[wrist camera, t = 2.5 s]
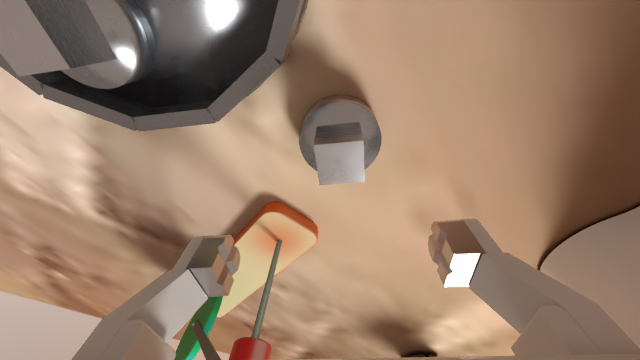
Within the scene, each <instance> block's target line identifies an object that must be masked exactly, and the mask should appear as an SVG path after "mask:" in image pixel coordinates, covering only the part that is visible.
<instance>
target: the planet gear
mask: <svg viewBox="0 0 640 360" xmlns="http://www.w3.org/2000/svg"><path fill="white" fill-rule="evenodd" d="M299 143H300V149H301V152H302V155H303V157H304V158H305V160H306V161H307V163H308V164H309V165H310V166H311V167H312V168H314V169H315V170H316V171H318V177H319V183H320V185H329V184H343V183H357V182H365V174H364V169H366V168H367V167H368V166H369V165H370V164H371V163H372V162H373V161H374V160H375V158H376V157H377V155H378V152H379V150H380V146H381V132H380V128H379V126H378V123H377V120H376V118H375V115H374V113H373V111H372V110H371V109H370V107H369V106H368V105H367V104H366V103H364V102H363V101H362V100H360V99H358V98H356V97H353V96H349V95H332V96H329V97H326V98H324V99H322V100H320V101H318V102H317V103H316V104H315V105H313V106H312V108H311V109H310V110H309V111H308V113H307V115H306V117H305V119H304V122H303V125H302V129H301V132H300V137H299Z"/></svg>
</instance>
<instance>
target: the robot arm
mask: <svg viewBox="0 0 640 360" xmlns="http://www.w3.org/2000/svg"><path fill="white" fill-rule="evenodd" d="M431 230H432V232H433V234H432V235H431V236H430V237H429V241H428V246H429V252H430V255H431V258H432V260H433V261H434V262H435V263H436V264H438V265H439V266H438V270H437V271H438V274H439V276H440V278H441V280H442V283H443V285H444V287H462V286H469V288H470V289H471V290H472V291H473V292H474V293H475V294H476V295H478V296H479V297H480V298H481V299H482V300H483V301H484V302H485V303H487V304H488V305H489V306H490V307H491V308H492V309H493V310H494V311H496V312H497V313H498V314H499V315H500V316H501V317H502V318H503V319H505V320H506V321H507V322H508V323H509V324H510V325H511V326H512V327H514V328H515V329H516V330H517V331H518V332H519V333H520V335H519V336H518V338H517V339H516V340H515V342H514V343H513V345H512V347H511V348H512V350H513V352H514V354H515V356H468V357H408V358H348V359H288V360H640V206H639V207H637V208H635V209H633V210H631V211H628V212H626V213H623V214H621V215H618V216H615V217H612V218H610V219H607V220H604V221H602V222H599V223H597V224H595V225H592V226H590V227H588V228H586V229H584V230H582V231H580V232H578V233H577V234H575V235H573V236H572V237H570V238H568V239H567V240H566V241H564V242H563V243H561V244H560V245H559V246H558V247H556V248H555V249H554V250H553V251H552V252H551V253H550V254H549V255H548V256H547V258H546V259H545V260H544V262H543V264H542V266H541V268H540V271H539V270H537V269H535V268H534V267H532V266H530V265H528V264H527V263H525V262H523V261H521V260H520V259H518V258H516V257H514V256H513V255H511V254H509V253H503V252H502V251H501V249H500V248H499V247H498V246H497V244H496V243H495V242H494V240H493V239H492V238H491V237H490V235H489V234H488V233H487V231H486V230H485V229H484V227H483V226H482V225H481V224H480V222H479V221H478V220H476V219H463V220H449V221H436V222H433V223H432V226H431ZM233 243H234V239H233V237H232V236H231V235H216V236H196V237H194V238H192V239H191V241H190V242H189V244H188V245H187V247H186V248H185V250H184V252H183V253H182V255H181V256H180V258H179V260H178V261H177V263H176V264H175V266H174V267H173V269H172V270H168V271H167V272H165V273H164V274H163V275H161V276H160V277H159V278H157V279H156V280H155V281H153V282H152V283H151V284H149V285H148V286H146V287H145V288H144V289H142V290H141V291H140V292H138V293H137V294H136V295H134V296H133V297H132V298H130V299H129V300H128V301H126V302H125V303H124V304H122V305H121V306H120V307H118V308H117V309H115V310H114V311H113V312H111V313H110V314H109V315H107V316H106V317H105V318H103V319H102V321H101V322H100V323H99V324H98V326H97V327H96V328H95V329H94V331H93V332H92V333H91V335H90V336H89V337H88V339H87V340H86V341H85V343H84V344H83V345H82V347H81V348H80V349H79V351H78V352H77V353H76V354H75V356H74V357H73V358H72V360H174V359H175V356H176V352H175V350H174V349H173V348H172V347H171V346H169V345H168V344H167V343H168V342H169V341H170V340H171V339H172V338H173V337H174V336H175V335H176V333H177V332H178V331H179V330H180V329H181V328H182V327H183V326H184V325H185V323H186V322H187V321H188V320H189V319H190V318H191V317H192V316H193V315H194V313H195V312H196V311H197V310H198V309H199V308H200V307H201V306H202V305H203V304H204V302H205V301H206V300H207V299H208V297H217V296H229V293H230V290H231V287H232V285H233V282H234V279H233V276H232V275H233V274H234V273H236V272H237V271H238V268H239V265H240V252H239V250H238V248H237V247H235V246H234V245H233Z"/></svg>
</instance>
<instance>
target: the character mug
mask: <svg viewBox="0 0 640 360" xmlns="http://www.w3.org/2000/svg"><path fill="white" fill-rule="evenodd" d="M409 357H424V354H418V355H412V356H409ZM429 357H436V356H433V355H429ZM407 358H408V357H407Z"/></svg>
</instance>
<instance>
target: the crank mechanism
mask: <svg viewBox="0 0 640 360" xmlns="http://www.w3.org/2000/svg"><path fill="white" fill-rule="evenodd" d="M317 239H318V227H317V226H316V224H314V223H313V222H312V221H310V220H309V219H307V218H305V217H304V216H302V215H300V214H299V213H297V212H296V211H294V210H292V209H291V208H289V207H288V206H286V205H284V204H282V203H277V202H273V203H269V204H267V205H265V206H264V207H263V208H262V209H261V210H260V212H259V213H258V214H257V215H256V216H255V217H254V218H253V219H252V220H251V221H250V222H249V223H248V224H247V226H246V227H245V228H244V229H243V230H242V231H241V232H240V233H239V234H238V235H237V236H236V237H235V239H234V243H233V245H234V246H235V247H237V248H238V250H239V252H240V265H239V268H238V271H237V272H236V273H234V274H233V275H232V276H233V279H234V282H233V285H232V287H231V290H230V293H229V296H217V297H208V299H207V300H206V301H205V302H204V304H203V305H202V306H201V307H200V308H199V309H198V310H197V311H196V312H195V314H194V316H193V318H192V319H191V321H190V323H189V325H188V327H187V329H186V331H185V333H184V335H183V337H182V339H181V341H180V343H179V346H178V348H177V350H176V356H175V359H174V360H193V359H194V358H195V356H196V355H197V353H198V352H199V350H200V348H201V349H202V351H203V354H204V356H205V358H206V360H221V359H220V357H219V355H218V354H217V352H216V350H215V349H214V347H213V345H212V344H211V342H210V340H209V338H208V337H207V336H208V334H209V332H210V330H211V328H212V326H213V324H214V321H215V319H216V317H222V316H224V315H225V314H226V313H228V312H229V311H230V310H232V309H233V308H234V307H235V306H237V305H238V304H239V303H241V302H242V301H243V300H244V299H246V298H247V297H248V296H249V295H251V294H252V293H253V292H255V291H256V290H257V289H258V288H260V287H261V286H262V285H264V284H265V283H266V284H265V288H264V291H263V295H262V299H261V303H260V306H259V310H258V314H257V318H256V321H255V325H254V329H253V333H252V336H251V337H244V338H240V339H238V340H236V341H235V342H234V345H233V348H232V351H231V354H230V357H229V360H269V359H270V354H271V349H272V348H271V346H270V345H269V344H268V343H267V342H266V341H264V340H261V339H259V335H260V331H261V327H262V323H263V318H264V314H265V310H266V306H267V302H268V298H269V294H270V290H271V285H272V281H273V277H274V276H275V275H276V274H278V273H279V272H280V271H282V270H283V269H284V268H285V267H287V266H288V265H289V264H291V263H292V262H293V261H294V260H296V259H297V258H298V257H299V256H301V255H302V254H303V253H305V252H306V251H307V250H308V249H310V248H311V247H312V246H314V245H315V244H316V242H317Z"/></svg>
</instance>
